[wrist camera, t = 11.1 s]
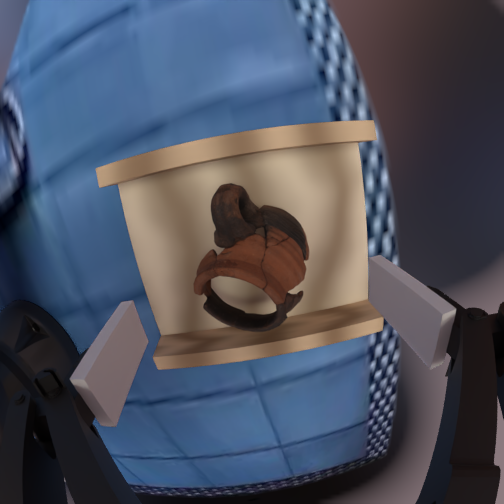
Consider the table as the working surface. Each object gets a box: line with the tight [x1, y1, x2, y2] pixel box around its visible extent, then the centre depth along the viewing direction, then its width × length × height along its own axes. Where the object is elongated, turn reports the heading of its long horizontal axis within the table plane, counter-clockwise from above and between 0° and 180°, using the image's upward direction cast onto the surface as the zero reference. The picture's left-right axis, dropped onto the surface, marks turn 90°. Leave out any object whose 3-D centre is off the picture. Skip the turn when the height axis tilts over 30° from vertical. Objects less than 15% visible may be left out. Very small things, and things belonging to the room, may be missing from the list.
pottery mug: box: [193, 183, 309, 332], centre depth 23 cm, size 12×9×8 cm
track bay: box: [96, 120, 383, 370], centre depth 24 cm, size 22×19×5 cm
